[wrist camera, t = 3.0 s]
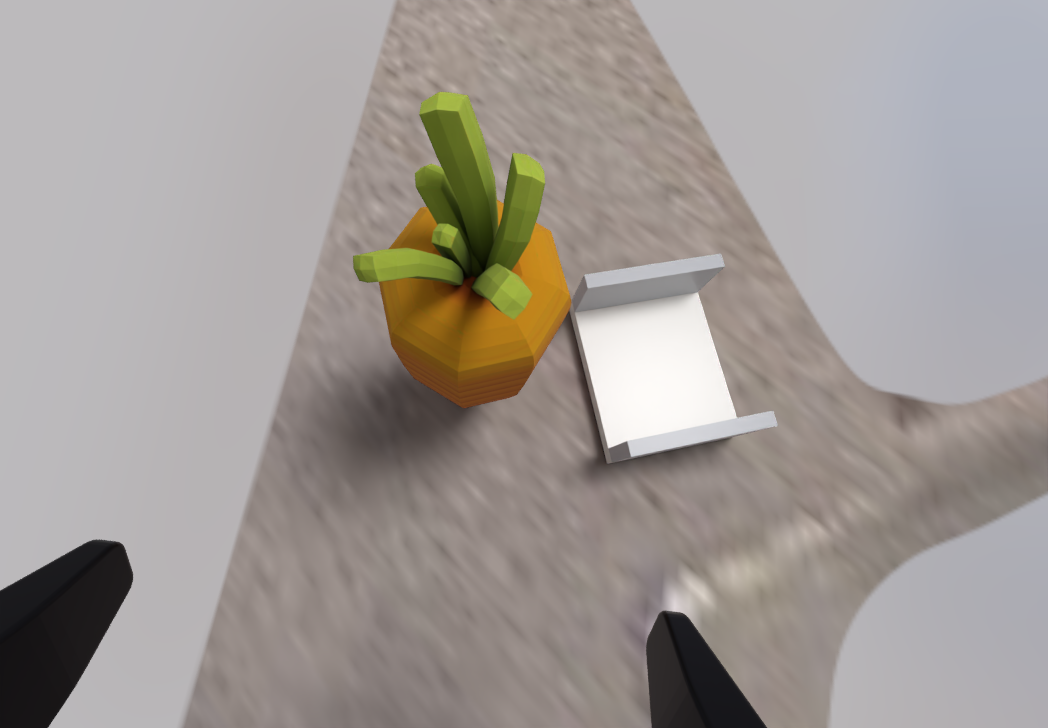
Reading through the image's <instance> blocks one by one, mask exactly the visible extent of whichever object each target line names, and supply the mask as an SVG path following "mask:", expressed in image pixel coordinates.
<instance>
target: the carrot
mask: <svg viewBox="0 0 1048 728" xmlns="http://www.w3.org/2000/svg"><path fill="white" fill-rule="evenodd" d="M420 117H421V119H422V122H423V124H424V127H425V129H426V131H427V134H428V136H429V139H430V141H431V143H432V146H433V148H434V151H435V153H436V155H437V158H438V160H439V162H440V164H441V166H442V167H439V166H436V165H434V164H429V165H427V166H424V167H422V168H420V169H419V170H418V171H417V172H416V173H415V181H416V188H417V190H418V192H419V193H420V195H421V197H422V199H423V200H424V202H425V204H426V206H427V207H422V208H420V209H419V210H418V212H417V213H416V214H415V216H414V217H413V218H412V219H411V221H410V222H409V223H408V225H407V226H406V227H405V229H404V230H403V231H402V232H401V234H400V235H399V236H398V238H397V239H396V240H395V242H394V243H393V244H392V245H391V247H390V248H389V249H387V250H379V251H375V252H370V253H365V254H360V255H356V256H353V265H354V270H355V272H356V275H357V277H358V279H359V281H363V282H367V283H368V282H379V285H380V290H381V295H382V300H383V305H384V310H385V315H386V320H387V325H388V330H389V335H390V340H391V345H392V347H393V349H394V350H395V352H396V354H397V355H398V357H399V358H400V360H401V362H402V363H403V365H404V366H405V367H406V369H407V370H408V371H409V373H410V374H411V375H412V376H413V378H414V379H416V380H418V381H419V382H421V383H423V384H424V385H426V386H427V387H429V388H431V389H432V390H434V391H436V392H437V393H439V394H441V395H442V396H444V397H446V398H447V399H449V400H450V401H452V402H454V403H455V404H457V405H459V406H460V407H462V408H467V407H472V406H476V405H480V404H485V403H489V402H493V401H497V400H502V399H506V398H510V397H512V396H515V395H517V394H518V392H519V391H520V390H521V388H522V387H523V386H524V384H525V383H526V381H527V380H528V378H529V376H530V375H531V373H532V371H533V370H534V368H535V366H536V365H537V363H538V362H539V360H540V358H541V357H542V355H543V353H544V352H545V350H546V348H547V347H548V345H549V344H550V342H551V340H552V339H553V337H554V335H555V334H556V332H557V330H558V329H559V327H560V325H561V324H562V322H563V320H564V318H565V317H566V315H567V313H568V312H569V310H570V307H571V303H572V302H571V298H570V294H569V291H568V288H567V284H566V281H565V277H564V274H563V271H562V267H561V264H560V260H559V257H558V254H557V250H556V247H555V243H554V240H553V237H552V233H551V231H550V230H548V229H546V228H544V227H543V226H541V225H539V224H538V223H536V220H537V217H538V213H539V209H540V205H541V200H542V195H543V191H544V186H545V178H544V170H543V169H542V167H541V165H540V164H539V163H538V162H537V161H535V160H534V159H532V158H531V157H529V156H528V155H527V154H518V153H513V154H512V159H511V165H510V170H509V175H508V180H507V186H506V193H505V199H504V204H503V203H501V202H500V201H498V200H497V196H496V186H495V177H494V174H493V170H492V167H491V163H490V159H489V156H488V152H487V149H486V145H485V142H484V138H483V135H482V132H481V129H480V127H479V124H478V121H477V119H476V116H475V113H474V111H473V108H472V105H471V103H470V100H469V98H468V95H462V94H455V93H449V92H438V93H437V94H435V95H433V96H432V97H430V98H428V99H427V100H425V101H423V102H422V103H421V109H420Z"/></svg>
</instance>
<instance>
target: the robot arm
mask: <svg viewBox="0 0 1048 728" xmlns="http://www.w3.org/2000/svg"><path fill="white" fill-rule="evenodd" d="M132 582H133V572H132V569H131V566H130V563H129V559H128V556H127V553H126V550H125V548H124V546H123V544H121V543H120V542H115V541H107V540H92V541H89V542H87V543H85V544H83V545H82V546H79V547H78V548H76V549H74V550H72V551H70V552H69V553H67V554H65V555H63V556H61V557H60V558H58V559H56V560H54V561H53V562H51V563H49V564H47V565H45V566H44V567H42V568H40V569H38V570H36V571H35V572H33V573H31V574H29V575H27V576H26V577H24V578H22V579H20V580H19V581H17V582H15V583H13V584H12V585H10V586H8V587H6V588H4V589H2V590H1V591H0V728H48V727H49V725H50V724H51V722H52V721H53V719H54V718H55V716H56V715H57V713H58V712H59V710H60V709H61V707H62V706H63V705H64V703H65V701H66V700H67V698H68V697H69V695H70V694H71V692H72V691H73V689H74V688H75V686H76V684H77V682H78V681H79V679H80V678H81V676H82V674H83V673H84V671H85V669H86V667H87V666H88V664H89V662H90V660H91V658H92V657H93V655H94V653H95V651H96V649H97V648H98V646H99V644H100V642H101V640H102V639H103V637H104V635H105V633H106V631H107V630H108V628H109V626H110V624H111V622H112V621H113V619H114V617H115V615H116V614H117V612H118V610H119V608H120V606H121V604H122V603H123V601H124V599H125V597H126V596H127V594H128V592H129V590H130V588H131V585H132ZM646 655H647V669H648V682H649V696H650V709H651V723H652V728H767V727H766V725H765V724H764V723H763V721H762V720H761V719H760V717H759V716H758V714H757V713H756V712H755V710H754V709H753V707H752V706H751V705H750V703H749V702H748V700H747V699H746V698H745V696H744V695H743V693H742V692H741V691H740V689H739V688H738V686H737V685H736V684H735V682H734V681H733V679H732V678H731V677H730V675H729V674H728V672H727V671H726V670H725V668H724V667H723V665H722V664H721V663H720V661H719V660H718V658H717V657H716V656H715V654H714V653H713V651H712V650H711V649H710V647H709V646H708V644H707V643H706V642H705V640H704V639H703V637H702V636H701V635H700V633H699V632H698V630H697V629H696V628H695V626H694V625H693V623H692V622H691V621H690V619H689V618H688V617H687V616H686V615H685V614H683V613H680V612H672V611H662V612H660V613H659V615H658V617H657V619H656V621H655V623H654V626H653V628H652V630H651V632H650V634H649V636H648V639H647V645H646Z"/></svg>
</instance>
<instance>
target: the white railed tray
mask: <svg viewBox="0 0 1048 728" xmlns="http://www.w3.org/2000/svg"><path fill="white" fill-rule="evenodd" d="M724 267H725V265H724V262H723V259H722V256H721V254H715V255H708V256H702V257H695V258H689V259H683V260H676V261H670V262H663V263H657V264H650V265H644V266H638V267H631V268H625V269H618V270H612V271H605V272H599V273H592V274H586V275H584V276H583V278H582V280H581V282H580V285H579V287H578V289H577V291H576V293H575V295H574V297H573V299H572V301H571V302H572V303H571V307H570V310H569V311H570V315H571V319H572V323H573V327H574V331H575V335H576V339H577V344H578V348H579V352H580V356H581V360H582V364H583V368H584V372H585V376H586V380H587V384H588V388H589V392H590V396H591V401H592V405H593V409H594V413H595V417H596V421H597V425H598V429H599V433H600V437H601V441H602V445H603V449H604V453H605V458H606V462H607V464H609V463H614V462H619V461H623V460H628V459H633V458H637V457H642V456H647V455H651V454H656V453H661V452H665V451H670V450H675V449H679V448H684V447H689V446H693V445H698V444H703V443H707V442H712V441H717V440H721V439H726V438H731V437H735V436H739V435H743V434H747V433H751V432H755V431H759V430H763V429H767V428H771V427H775V426H778V425H777V422H776V419H775V416H774V413H773V411H769V412H764V413H759V414H754V415H749V416H745V417H740V418H737V417H736V413H735V410H734V407H733V404H732V401H731V397H730V394H729V391H728V388H727V385H726V381H725V378H724V375H723V372H722V369H721V365H720V362H719V359H718V356H717V353H716V349H715V346H714V343H713V340H712V337H711V334H710V330H709V327H708V324H707V321H706V318H705V314H704V311H703V308H702V305H701V302H700V298H699V295H698V291H699V290H700V289H701V288H703V287H704V286H705V285H706V284H707V283H708V282H709V281H710V280H711V279H712V278H713V277H714V276H715V275H716V274H718V273H719V272H720V271H721V270H722V269H723V268H724Z"/></svg>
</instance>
